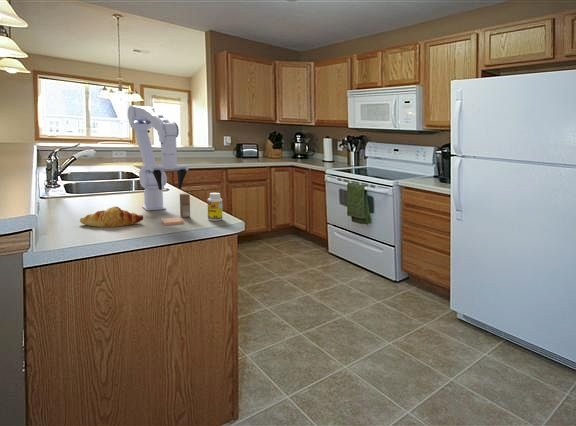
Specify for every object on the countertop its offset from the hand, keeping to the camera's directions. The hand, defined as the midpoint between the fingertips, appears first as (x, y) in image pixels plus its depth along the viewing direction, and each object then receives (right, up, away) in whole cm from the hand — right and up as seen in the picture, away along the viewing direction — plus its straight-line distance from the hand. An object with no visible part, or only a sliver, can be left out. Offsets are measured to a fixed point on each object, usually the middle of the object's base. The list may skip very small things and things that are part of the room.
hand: (170, 189), depth 162 cm
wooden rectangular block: (+6, -11, -1) cm, 13 cm away
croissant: (-16, -14, -15) cm, 26 cm away
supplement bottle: (+18, -12, -4) cm, 22 cm away
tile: (+2, -12, -7) cm, 14 cm away
